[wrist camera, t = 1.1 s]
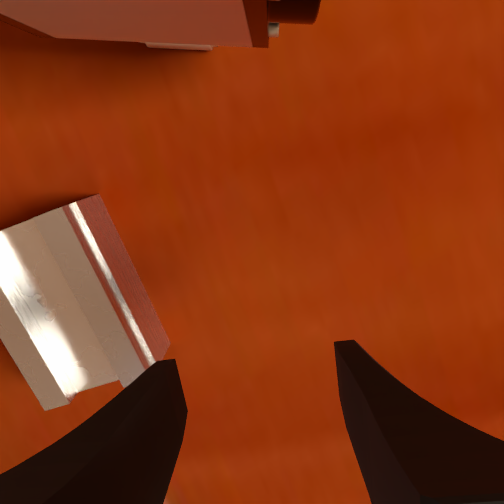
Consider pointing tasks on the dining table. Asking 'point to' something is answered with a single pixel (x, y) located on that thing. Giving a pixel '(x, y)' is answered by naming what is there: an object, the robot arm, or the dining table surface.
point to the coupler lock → (74, 304)
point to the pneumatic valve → (160, 20)
